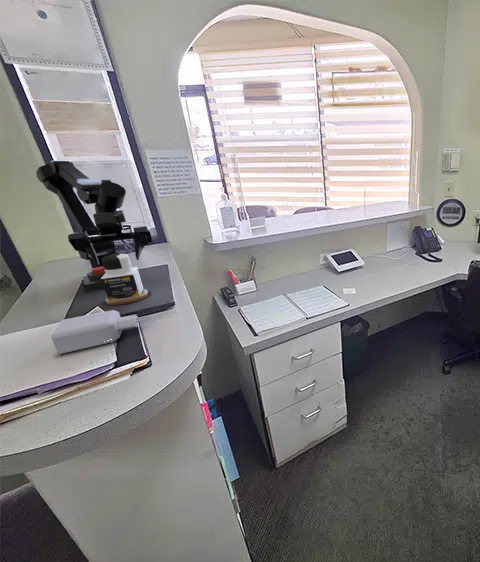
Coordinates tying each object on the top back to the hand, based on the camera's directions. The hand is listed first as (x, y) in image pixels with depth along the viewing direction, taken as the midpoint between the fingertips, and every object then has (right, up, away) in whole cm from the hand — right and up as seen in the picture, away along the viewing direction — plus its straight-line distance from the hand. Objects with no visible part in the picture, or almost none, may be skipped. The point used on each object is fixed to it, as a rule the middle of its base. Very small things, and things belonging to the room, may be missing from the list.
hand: (118, 261), depth 90 cm
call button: (-14, -3, +10) cm, 17 cm away
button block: (-14, -6, +11) cm, 19 cm away
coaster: (+3, -10, 0) cm, 11 cm away
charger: (+15, -18, -20) cm, 31 cm away
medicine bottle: (+3, -10, 0) cm, 10 cm away
